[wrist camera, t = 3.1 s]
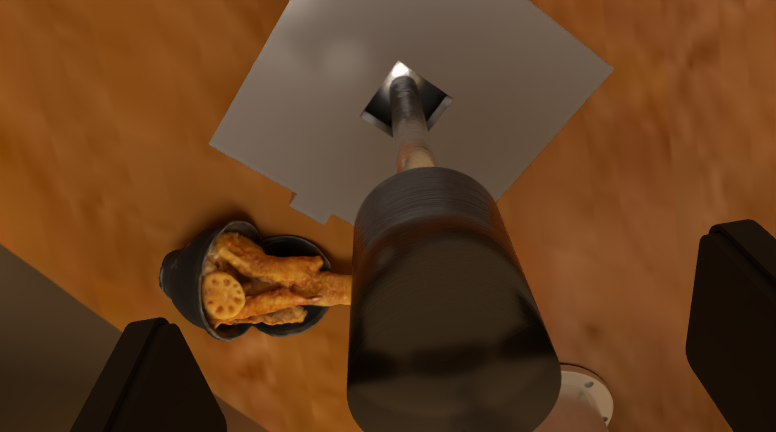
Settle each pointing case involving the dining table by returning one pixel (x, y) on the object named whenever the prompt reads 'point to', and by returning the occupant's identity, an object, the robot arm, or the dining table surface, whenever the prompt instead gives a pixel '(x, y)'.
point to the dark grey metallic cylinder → (440, 295)
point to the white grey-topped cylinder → (369, 70)
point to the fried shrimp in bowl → (251, 282)
